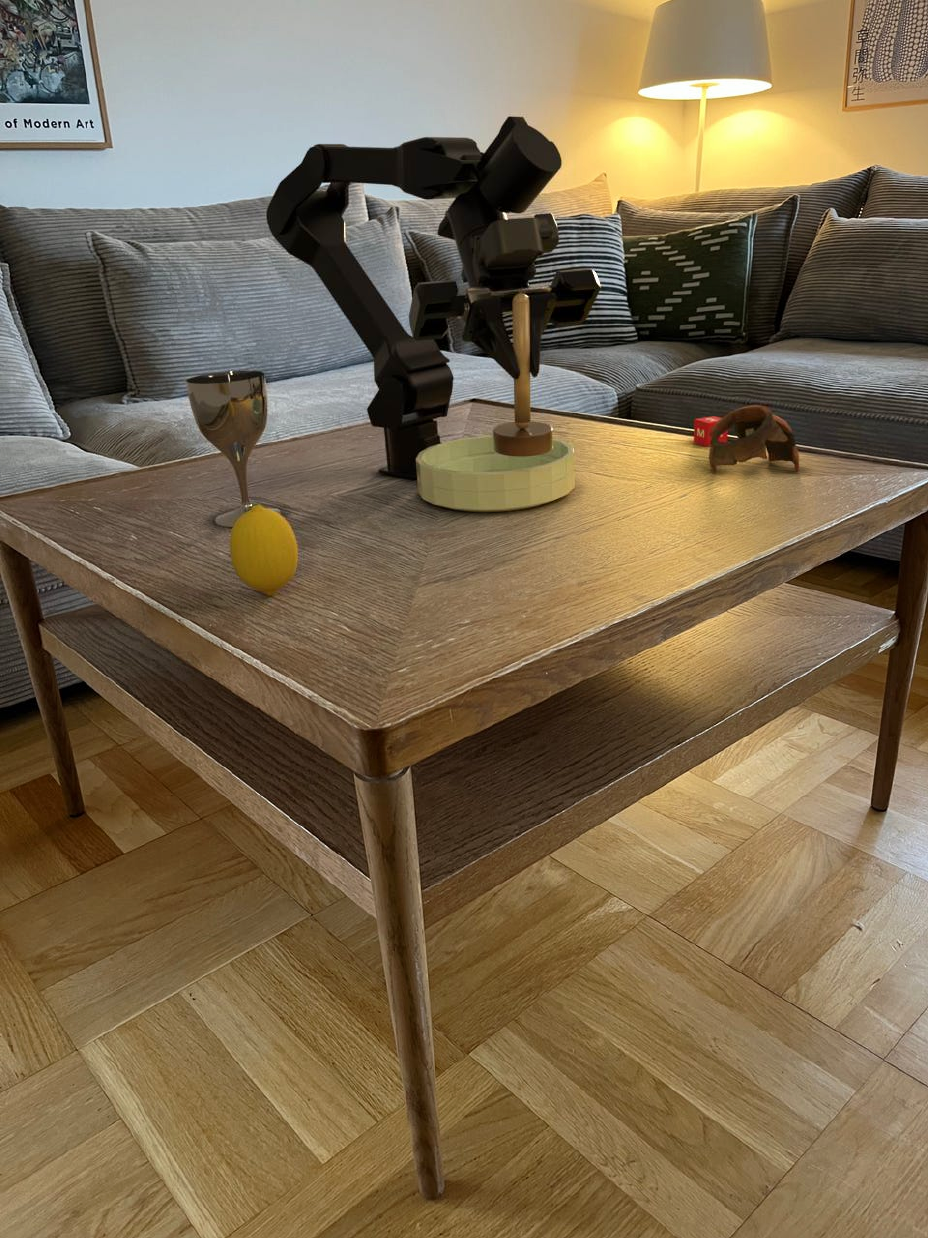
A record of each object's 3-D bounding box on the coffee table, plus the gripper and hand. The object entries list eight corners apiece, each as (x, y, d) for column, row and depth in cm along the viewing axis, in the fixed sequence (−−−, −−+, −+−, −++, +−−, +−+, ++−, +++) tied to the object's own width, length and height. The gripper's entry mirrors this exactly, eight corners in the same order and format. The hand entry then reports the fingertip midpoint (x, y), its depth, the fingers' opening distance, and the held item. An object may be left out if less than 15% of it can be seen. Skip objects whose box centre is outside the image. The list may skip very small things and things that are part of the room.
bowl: (387, 500, 102) (383, 461, 100) (487, 465, 114) (485, 429, 112) (508, 525, 91) (506, 481, 90) (605, 483, 103) (605, 444, 101)
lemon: (243, 586, 80) (227, 498, 77) (306, 580, 81) (293, 493, 77) (233, 610, 75) (217, 518, 72) (301, 604, 76) (287, 512, 72)
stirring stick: (482, 452, 92) (476, 296, 86) (513, 437, 97) (510, 288, 90) (533, 459, 89) (531, 298, 82) (563, 444, 94) (564, 290, 87)
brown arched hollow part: (815, 482, 100) (789, 423, 96) (732, 518, 103) (704, 462, 99) (790, 431, 109) (766, 374, 105) (715, 465, 113) (689, 412, 108)
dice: (693, 442, 118) (694, 418, 117) (713, 439, 119) (714, 415, 118) (707, 446, 115) (708, 423, 114) (727, 443, 116) (728, 419, 115)
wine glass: (297, 507, 102) (278, 370, 96) (261, 529, 95) (237, 383, 89) (236, 504, 104) (214, 370, 98) (196, 526, 98) (169, 384, 92)
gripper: (407, 189, 83) (448, 333, 79) (594, 178, 88) (644, 313, 83) (393, 273, 93) (429, 404, 89) (562, 259, 98) (604, 383, 94)
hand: (526, 375), depth 88 cm, fingers closed on stirring stick
